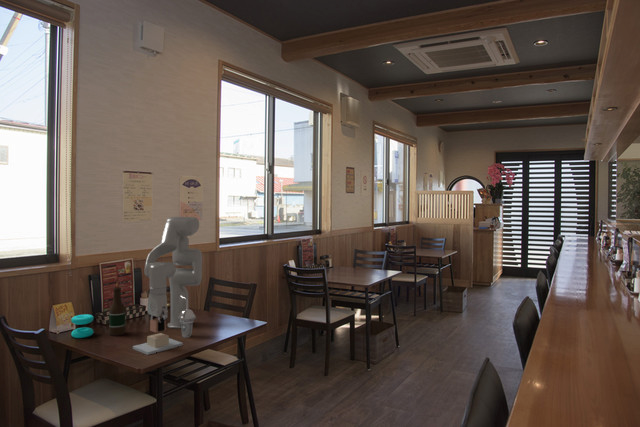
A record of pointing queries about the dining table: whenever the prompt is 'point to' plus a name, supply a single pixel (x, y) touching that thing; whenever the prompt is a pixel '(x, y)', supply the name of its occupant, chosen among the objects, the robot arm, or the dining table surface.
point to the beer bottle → (117, 315)
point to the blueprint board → (153, 350)
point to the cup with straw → (186, 320)
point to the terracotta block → (155, 325)
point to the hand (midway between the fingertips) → (157, 329)
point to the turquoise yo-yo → (85, 330)
